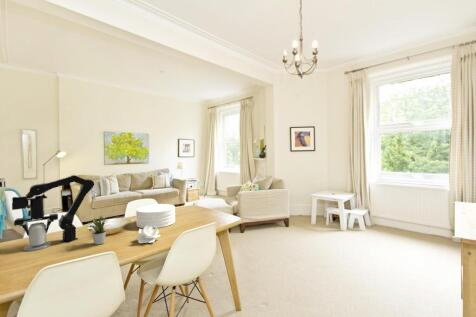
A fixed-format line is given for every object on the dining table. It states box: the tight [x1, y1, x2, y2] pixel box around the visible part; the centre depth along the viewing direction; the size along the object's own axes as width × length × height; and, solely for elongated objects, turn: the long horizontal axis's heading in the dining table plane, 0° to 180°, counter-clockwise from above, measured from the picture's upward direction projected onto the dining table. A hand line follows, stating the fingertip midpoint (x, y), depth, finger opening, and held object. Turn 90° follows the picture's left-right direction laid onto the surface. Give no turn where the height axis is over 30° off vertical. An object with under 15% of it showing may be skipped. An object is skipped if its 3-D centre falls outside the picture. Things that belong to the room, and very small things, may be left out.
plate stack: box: [135, 203, 176, 229], centre depth 181 cm, size 28×28×12 cm
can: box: [28, 221, 47, 246], centre depth 134 cm, size 8×8×12 cm
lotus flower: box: [134, 225, 162, 244], centre depth 143 cm, size 14×15×9 cm
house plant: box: [85, 215, 110, 245], centre depth 140 cm, size 14×14×16 cm
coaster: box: [23, 241, 52, 252], centre depth 134 cm, size 12×12×1 cm
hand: (37, 234), depth 134 cm, fingers closed on can, 7 cm apart
